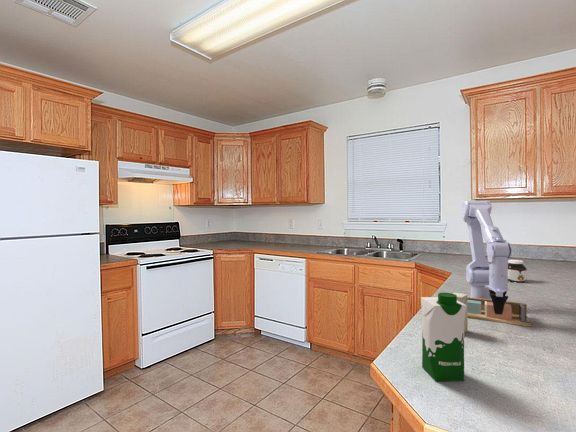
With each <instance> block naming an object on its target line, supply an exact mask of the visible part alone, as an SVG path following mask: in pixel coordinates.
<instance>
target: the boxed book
mask: <svg viewBox="0 0 576 432" xmlns="http://www.w3.org/2000/svg"><path fill="white" fill-rule="evenodd" d="M485 317H491V318H498V319H506V320H512V307H511V305H510V304H505V305H504V309H503V313H502V315H500V314H495V312H494V306H493V302H487V301H485Z"/></svg>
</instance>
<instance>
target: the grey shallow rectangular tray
mask: <svg viewBox="0 0 576 432" xmlns="http://www.w3.org/2000/svg"><path fill="white" fill-rule="evenodd" d="M518 303H519V318H520V320H521V322H525V323H530V324H531V321H530V319H529V317H528V315H527V316H525V307H524V305H523V303H524V302H518Z"/></svg>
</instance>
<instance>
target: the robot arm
mask: <svg viewBox="0 0 576 432" xmlns="http://www.w3.org/2000/svg"><path fill="white" fill-rule="evenodd" d="M491 212H492V203H491V201H490V200H487V199H486V200H464V201H463V202H462V206H461V215H462V221H463V222H464V223H466V224H467V225H466V226H467V232H468V238H469V239H468V240H469V244H470V245H469V246H470V252H471V253H470V254H471V260H472V261H470V262H469V263H468V264H467V265H466V266H465V279H466V282H468V283H467V284H470V297H472V298H481V299H490V300H492V302H493V306H494V312H495V314H500V315H502V313H503V309H504V305H505V302H506V301H508V299H509V296H508V295H506V294H507V292H508V291H509V287H508V286H509V285H508V282H509V281H508V260H509V258H510V257H511V256H512V245H511V243H510V242H509V241H507V240H506V239H504V237H503V236H502V233H501V231H500V229H499V228H498V227H497V226H494V223H493V220H492V216H491ZM484 241H485V244H486V252H485V244H484ZM486 255H487V258H486Z"/></svg>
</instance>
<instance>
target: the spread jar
mask: <svg viewBox="0 0 576 432" xmlns="http://www.w3.org/2000/svg"><path fill="white" fill-rule="evenodd" d="M527 280H528V269H527V267H526V265H525V264H524V260H520V259H508V282H509V281H510V282H509V283H514V282H516V283H515V284H521V283H522V282H523V283H525V282H526V281H527ZM523 283H522V284H523Z"/></svg>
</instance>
